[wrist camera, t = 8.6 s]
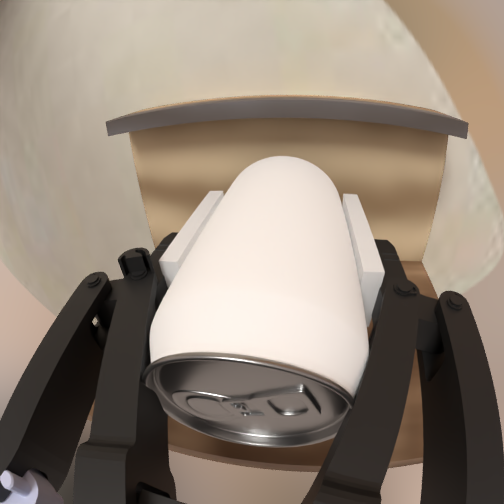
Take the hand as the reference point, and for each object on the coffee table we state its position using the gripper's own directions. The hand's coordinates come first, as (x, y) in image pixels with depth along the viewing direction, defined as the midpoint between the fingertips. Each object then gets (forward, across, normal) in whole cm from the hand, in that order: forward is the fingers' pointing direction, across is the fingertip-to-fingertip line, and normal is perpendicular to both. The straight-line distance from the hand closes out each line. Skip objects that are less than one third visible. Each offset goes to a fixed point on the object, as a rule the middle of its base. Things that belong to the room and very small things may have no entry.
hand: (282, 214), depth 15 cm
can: (+1, 0, 0) cm, 1 cm away
